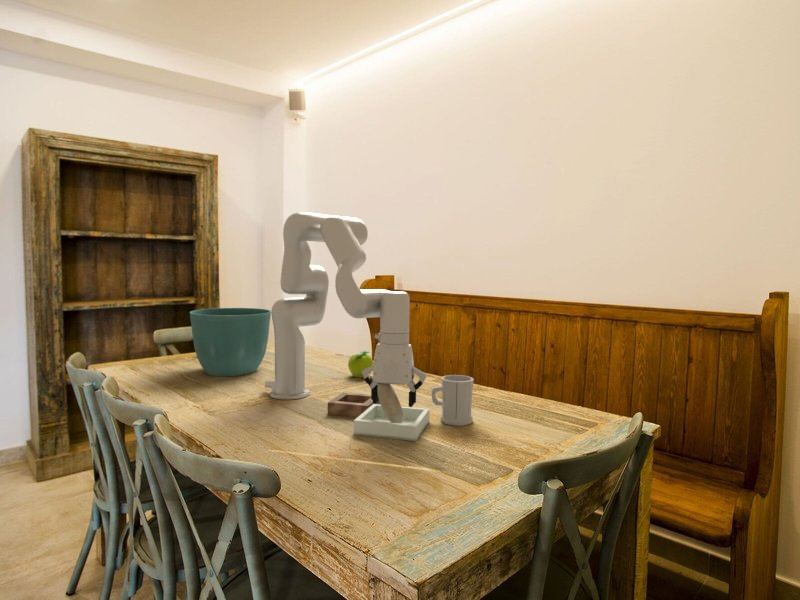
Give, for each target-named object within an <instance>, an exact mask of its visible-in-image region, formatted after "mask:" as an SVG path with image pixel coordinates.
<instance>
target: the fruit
mask: <svg viewBox="0 0 800 600" xmlns="http://www.w3.org/2000/svg"><path fill="white" fill-rule="evenodd" d="M369 353H370V351H365V350H364V351H361V353H360V354H358V353H357V354H353V355H351V356H350V358H349V359H348V364H347V366H348V369H349V371H350V374H351V376H353V377H354V378H357V379H365V378H364V377H363V374H362V371H363V370H364V369H367V368H369V367H371V366H373V365H374V360H373V358H372V357H371V356H370V355H369ZM371 373H372V371H371V372H369V375H371Z"/></svg>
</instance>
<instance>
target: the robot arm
mask: <svg viewBox="0 0 800 600" xmlns="http://www.w3.org/2000/svg"><path fill="white" fill-rule="evenodd" d="M282 231H283V232H282V237H283V239H282V240H283V248H284V249H283V257H282V265H281V273H280V289H281V291H282V292H283V293H284V294H287V295H305V296H304V297H300V296H299V297H298V296H297V297H296V296H295V297H285V298H284V297H283V298H280V299H278V300H276V301H275V302H274V303H273V305H272V307H271V310H270V311H271V319H272V325H273V330H274V331H273V332H274V334H273V335H274V380H273V381H272V380H265V382H264V388H270V389H271V390H270V392H269V397H270V398H273V399H276V400H285V401H287V400H288V401H289V400H298V399H300V400H301V399H303V398H306V397H308V396H309V395H310V392H311V391H310V390H309V389H308V388H306V387H305V386H306V383H305V382H306V341H305V340H306V339H305V337H304V335H303V334H302V332H301V330H300V327H311V326H316V325H318V324H320V323H321V322H322V321H323V319H324V316H325V312H326V306H327V300H328V293H329V286H330V285H329V283H330V282H329V276H328V272H327V270H326V269H325V268H324V267H322V266H321V265H317V264H311V260H312V250H311V246H310V244H309V242H315V243H316V242H319V243H325V245H326V247H327V249H328V251H329V252H330V255H331V256H332V258H333V260H334V262H335V264H336V265H337V271H336V274H335V280H334V281H335V282H334V283H335V285H334V286H335V292H336V295H337V297H338V300H339V301H340V304H341V305H342V307H343V309H344V311H345V312H346V313H347V314H348V315H349V316H350V317H352V318H354V319H368V318H380V319H379V332H378V333H374V339H375V340H376V339H377V340H378V343H377V344H376V347H375V351H374V356H373V366H371V367H369V368H367V369H364V370H363V371H362V374H363V377H364V378H363V379H364V382H366V384H367V385H368V386H369V388H370V395H371V400H373V404H376V403H377V402H378V401H379V399H378V395H377V386H378V383H385V384H391V385H398V386H399V385H400V386H401V385H403V386H407V388H408V389H409V392H408V407H413V406H414V405H415V404H416V403H417V390H418V389H419V388H421V387H422V386H423V384H424V383H425V381H426V379H427V377H428V376H427V373H425V372H424V371H421V370H420V369H419V368H417V367H415V363H414V354H413V347H412V346H413V345H412V344H411V343H410V342H409V341H410V302H411V301H410V294H409V293H408V292H406V291H400V290H399V291H395V290H388V289H383V288H382V289H381V288H375V289H372V288H370V289H360V287H358V285H357V283H356V281H355V278H354V277H353V273H354V272H357V271H358V270H359V269H360V268H361V267H363V266H364V265H365V262H366V260H367V255H366V252H365V251H364V249H363V247H362V246H363V245H364V244H365V243H366V242H367V240H368V236H369V234H368V233H369V232H368V228H367V226H366V223H364V221H363V220H361V219H359V218H358V217H350V216H343V215H342V216H340V215H333V214H332V215H331V214H323V213H317V212H315V213H313V212H305V211H304V212H303V211H302V212H295V213H292V214H290V215H289V216H288V217H287V218H286V220H285V222H284V225H283V230H282ZM369 372H371V373H372V376H370V374H369ZM415 376H417V377H419V379H418V381H417V383H416V382H415V381H414V379H415Z"/></svg>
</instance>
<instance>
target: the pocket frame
mask: <svg viewBox="0 0 800 600" xmlns="http://www.w3.org/2000/svg"><path fill="white" fill-rule="evenodd" d="M376 404H379V405H381V404H380V402H379V401H378V402H377V403H376ZM372 405H373V400H371V394H367V393H356V392H355V393H353V392H342V393H340V394H338V395H337V396H335V397H334V398H331V400H329V401H328V402H327V415H329V416H331V415H332V416H341V417H350V418H357V417H358V416H360V415H361V414H362V413H363V412H365V411H366V410H367V409H368V408H369V407H371V406H372Z"/></svg>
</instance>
